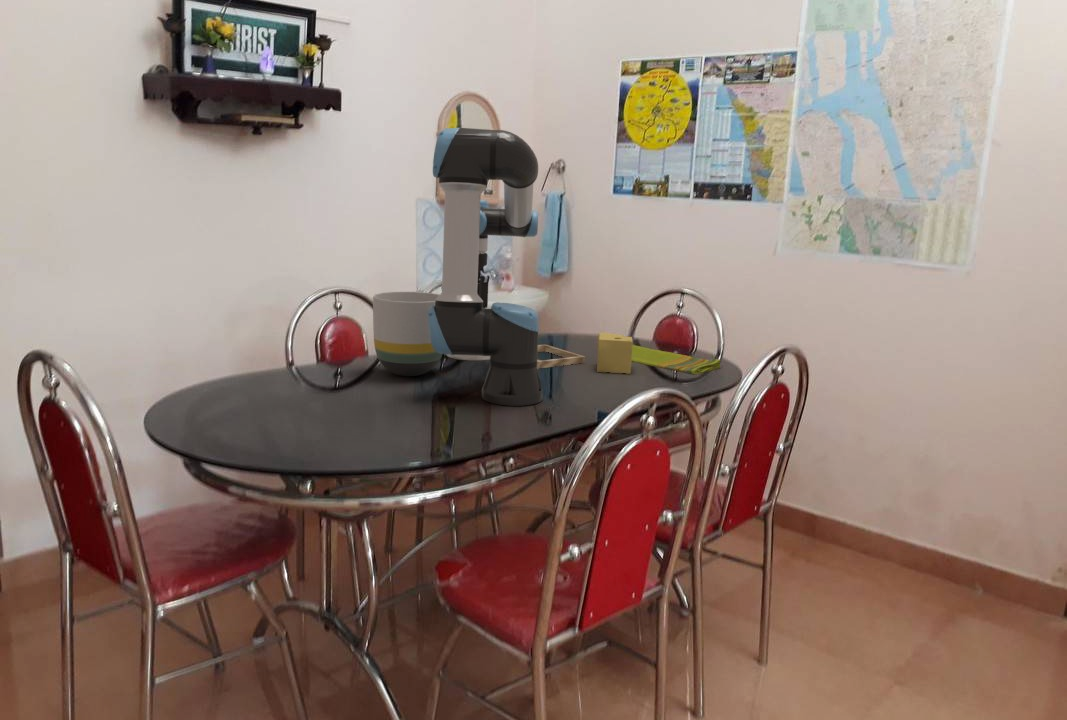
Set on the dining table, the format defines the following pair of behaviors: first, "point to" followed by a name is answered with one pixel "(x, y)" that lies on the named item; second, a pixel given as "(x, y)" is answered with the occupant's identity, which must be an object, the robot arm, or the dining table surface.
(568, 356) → the wooden frame
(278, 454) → the dining table surface
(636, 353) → the dish towel
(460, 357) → the bowl
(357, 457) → the dining table surface
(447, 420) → the dining table surface
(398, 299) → the planter
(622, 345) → the cheese
